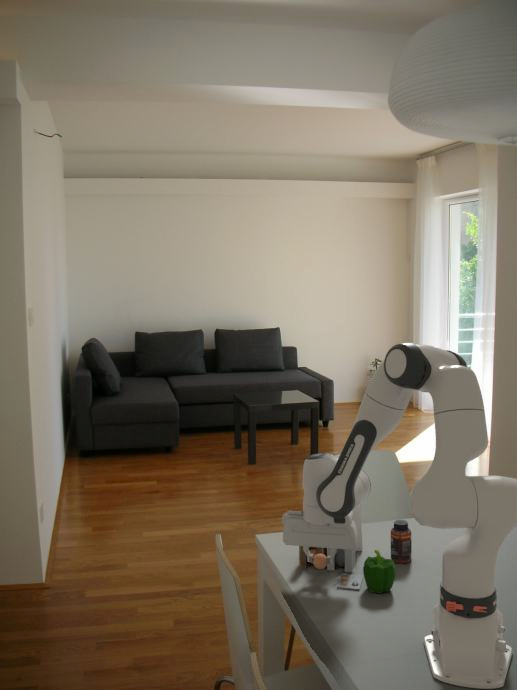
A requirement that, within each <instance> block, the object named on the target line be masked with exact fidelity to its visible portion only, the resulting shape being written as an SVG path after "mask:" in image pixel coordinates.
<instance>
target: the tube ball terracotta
mask: <svg viewBox="0 0 517 690" xmlns="http://www.w3.org/2000/svg"><path fill="white" fill-rule="evenodd" d="M310 553H311V554H314V556H315V555H317V554H316V550H315V549H312V550H310ZM309 563H310V564H313V562H309ZM313 565H314V564H313Z"/></svg>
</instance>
